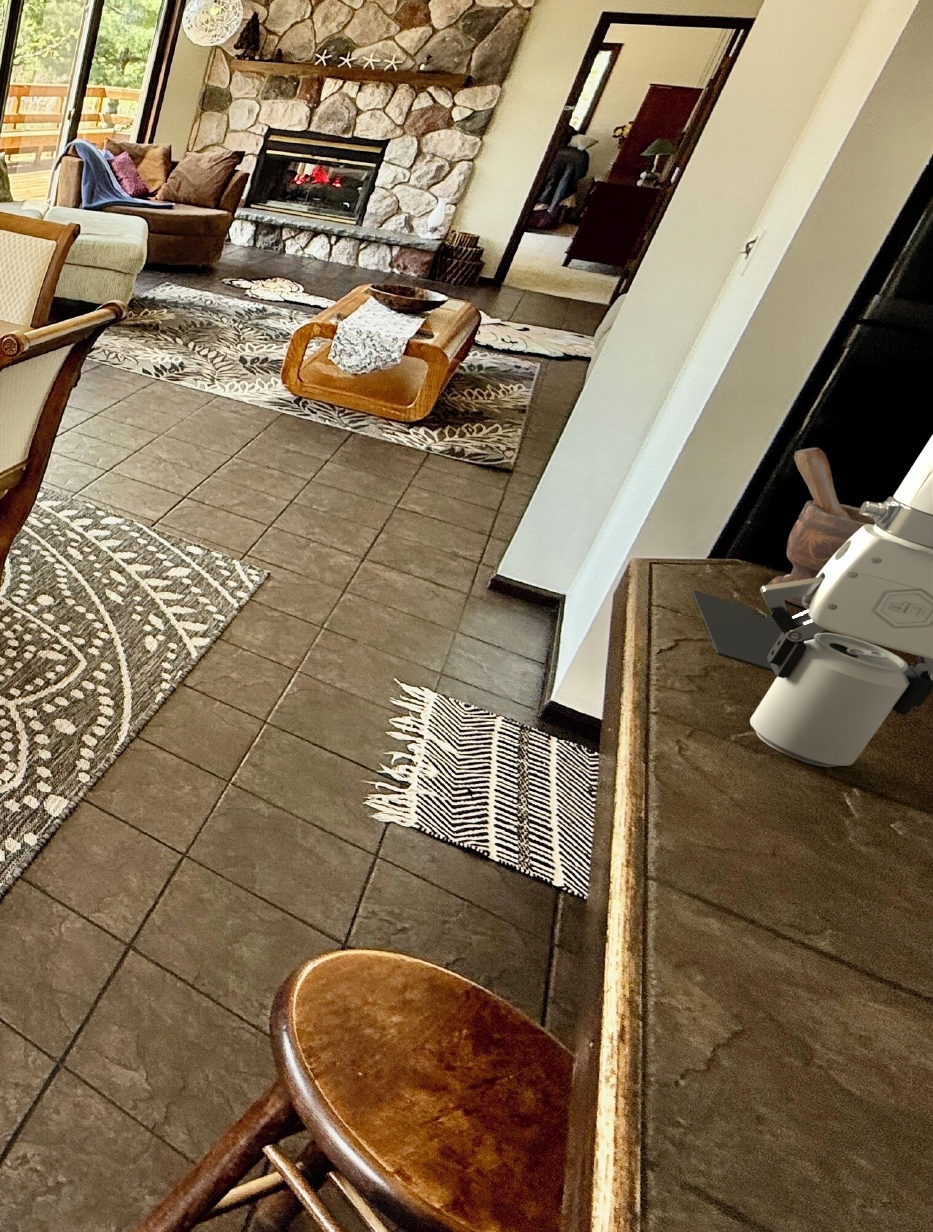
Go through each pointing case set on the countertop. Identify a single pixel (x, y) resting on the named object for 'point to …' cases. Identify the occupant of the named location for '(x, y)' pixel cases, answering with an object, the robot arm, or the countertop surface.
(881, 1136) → the countertop surface
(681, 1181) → the countertop surface
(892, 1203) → the countertop surface
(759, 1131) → the countertop surface
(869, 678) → the can
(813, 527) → the mortar and pestle
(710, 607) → the mat
